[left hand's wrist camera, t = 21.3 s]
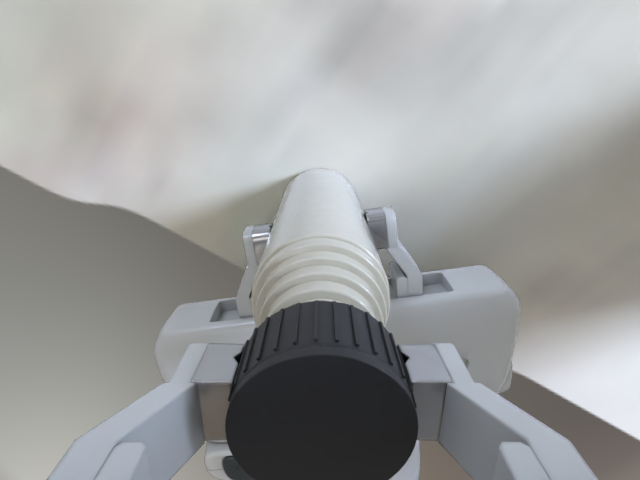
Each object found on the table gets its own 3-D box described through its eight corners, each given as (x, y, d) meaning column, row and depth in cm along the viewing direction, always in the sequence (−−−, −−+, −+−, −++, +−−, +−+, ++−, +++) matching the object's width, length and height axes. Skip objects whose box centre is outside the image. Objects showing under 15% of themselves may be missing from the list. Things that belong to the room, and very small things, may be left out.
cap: (359, 270, 9) (370, 319, 7) (425, 394, 11) (450, 465, 9) (210, 338, 10) (182, 401, 8) (290, 447, 12) (284, 524, 9)
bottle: (318, 255, 27) (318, 517, 10) (266, 204, 26) (168, 411, 9) (373, 207, 26) (473, 416, 9) (321, 151, 24) (325, 276, 8)
